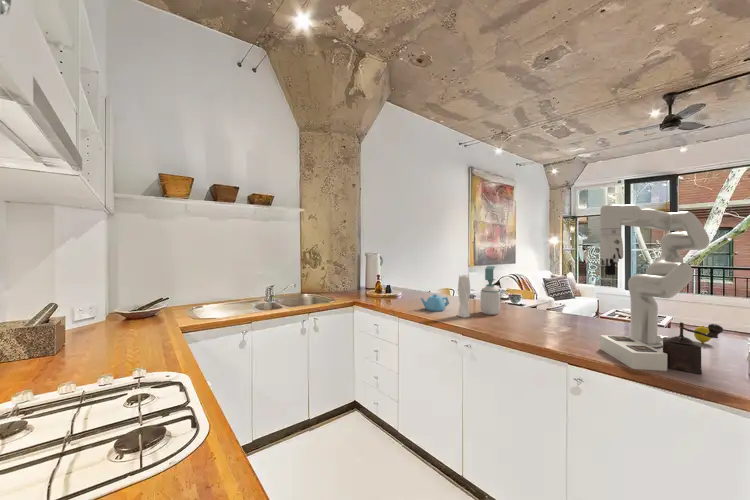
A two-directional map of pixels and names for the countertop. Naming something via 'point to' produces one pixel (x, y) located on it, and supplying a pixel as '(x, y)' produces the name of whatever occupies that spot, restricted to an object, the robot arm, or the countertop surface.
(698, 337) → the lemon
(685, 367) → the coffee grinder
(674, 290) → the robot arm
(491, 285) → the soap bottle
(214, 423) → the countertop surface
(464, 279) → the twisted white vase
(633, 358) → the peg block
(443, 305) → the teapot
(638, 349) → the peg
